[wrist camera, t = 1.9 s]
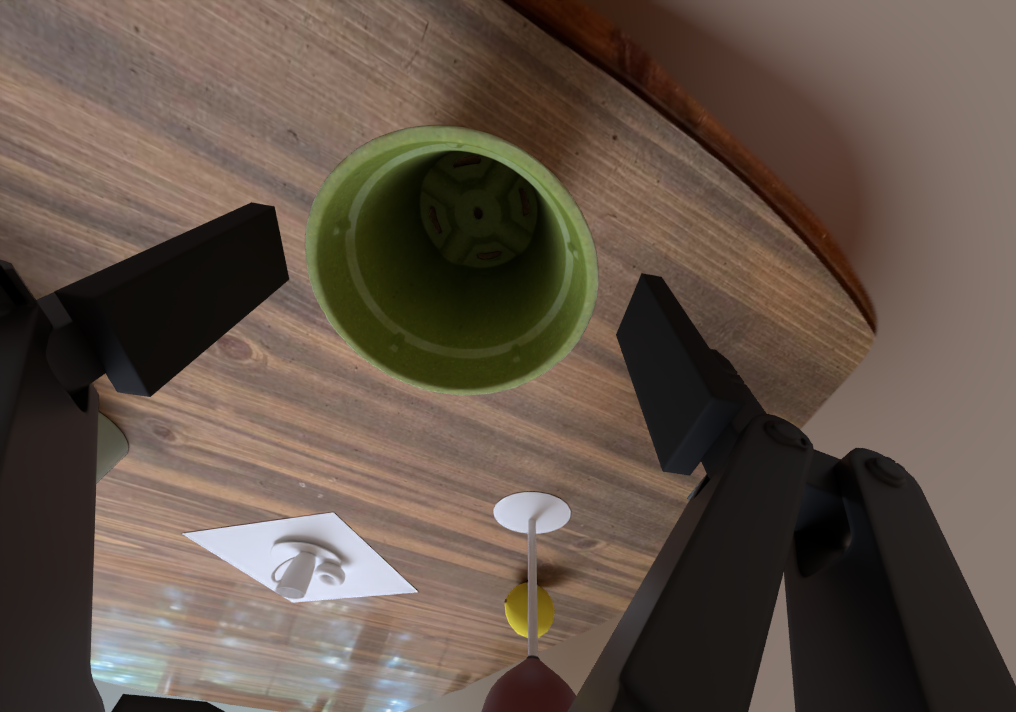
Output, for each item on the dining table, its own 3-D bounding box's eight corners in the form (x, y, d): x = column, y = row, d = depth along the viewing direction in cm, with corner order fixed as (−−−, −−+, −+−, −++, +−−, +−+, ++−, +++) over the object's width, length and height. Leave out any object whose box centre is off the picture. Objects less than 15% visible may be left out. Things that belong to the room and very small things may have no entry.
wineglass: (548, 479, 33) (567, 864, 17) (587, 525, 37) (632, 865, 21) (473, 501, 35) (428, 851, 20) (518, 542, 40) (511, 854, 24)
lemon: (564, 586, 46) (568, 639, 42) (535, 598, 49) (535, 649, 44) (522, 568, 44) (521, 622, 39) (493, 581, 46) (489, 634, 42)
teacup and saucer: (359, 569, 46) (346, 607, 42) (304, 574, 47) (288, 612, 44) (317, 534, 41) (298, 574, 37) (257, 541, 42) (235, 580, 39)
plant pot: (582, 276, 21) (609, 378, 14) (426, 307, 23) (382, 411, 16) (557, 74, 15) (579, 77, 9) (353, 134, 17) (236, 177, 10)
